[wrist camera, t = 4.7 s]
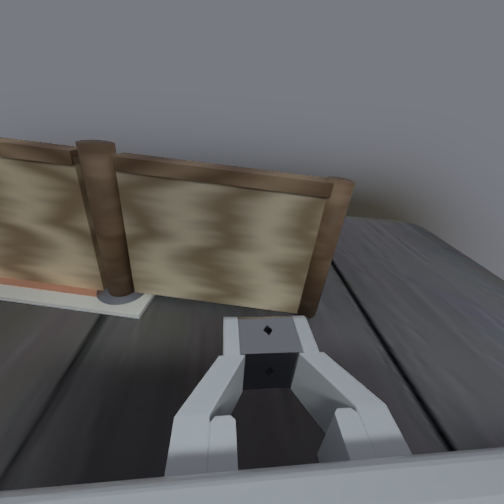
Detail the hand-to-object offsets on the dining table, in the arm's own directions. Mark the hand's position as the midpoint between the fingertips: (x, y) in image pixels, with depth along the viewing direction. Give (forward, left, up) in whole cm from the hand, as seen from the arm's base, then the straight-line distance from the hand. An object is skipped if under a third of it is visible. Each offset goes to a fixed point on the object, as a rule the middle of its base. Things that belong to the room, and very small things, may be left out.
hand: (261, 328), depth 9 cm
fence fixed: (-1, +24, -10) cm, 26 cm away
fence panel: (+9, +8, -9) cm, 15 cm away
